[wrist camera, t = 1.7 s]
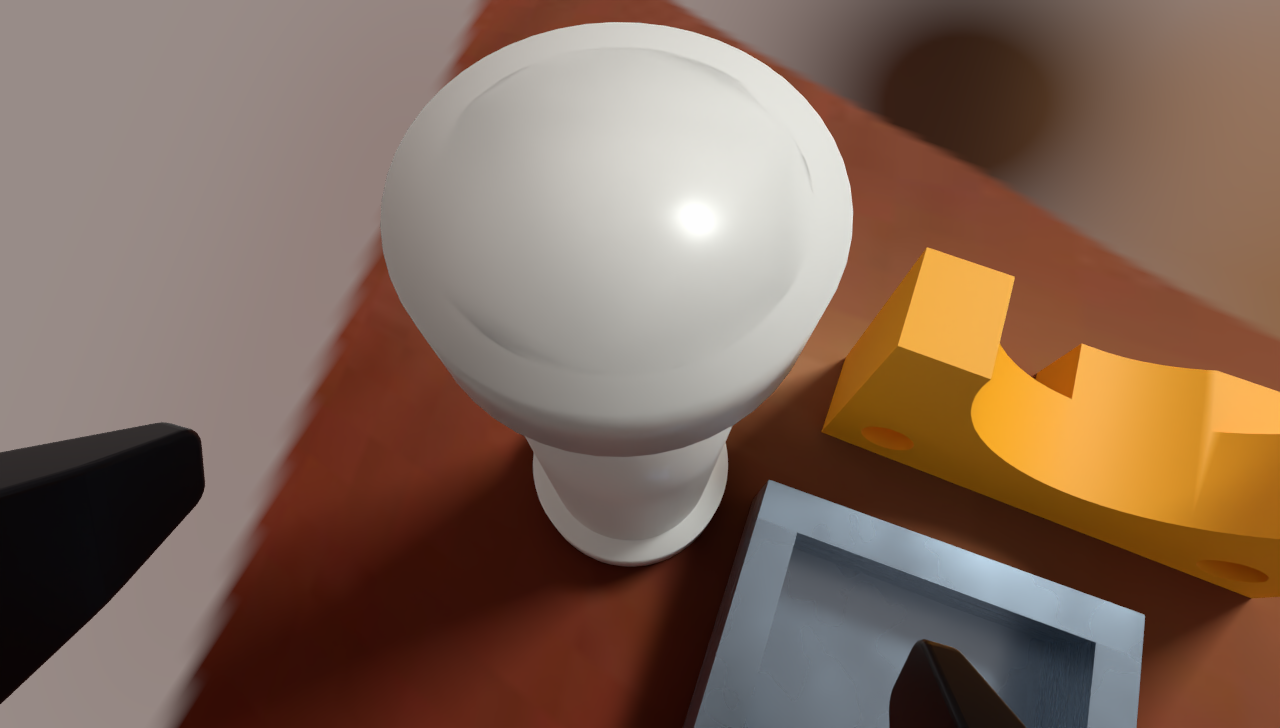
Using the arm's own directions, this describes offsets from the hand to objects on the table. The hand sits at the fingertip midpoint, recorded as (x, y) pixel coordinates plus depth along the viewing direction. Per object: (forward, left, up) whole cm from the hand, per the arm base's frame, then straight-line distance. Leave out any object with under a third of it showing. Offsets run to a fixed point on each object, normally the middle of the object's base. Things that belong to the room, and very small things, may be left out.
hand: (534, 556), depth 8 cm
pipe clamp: (+9, -11, -11) cm, 18 cm away
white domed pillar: (+4, 0, -11) cm, 11 cm away
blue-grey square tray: (0, -8, -11) cm, 13 cm away
